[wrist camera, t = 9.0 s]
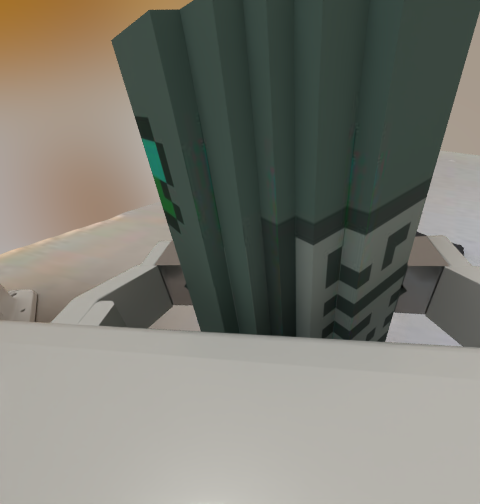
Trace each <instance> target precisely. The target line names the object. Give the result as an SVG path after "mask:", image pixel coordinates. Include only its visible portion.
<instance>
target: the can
mask: <svg viewBox="0 0 480 504" xmlns="http://www.w3.org/2000/svg"><path fill="white" fill-rule="evenodd" d="M479 12H480V0H194V1H192V2H190V3H189V4H187V5H186V6H184V7H183V8H181V9H180V10H148V11H147V12H146V13H145V14H144V15H142V16H141V17H140V18H139V19H137V20H136V21H135V22H134V23H132V24H131V25H130V26H129V27H127V28H126V29H125V30H124V31H122V32H121V33H120V34H119V35H117V36H116V37H115V38H114V39H113V40H111V41H112V45H113V47H114V51H115V54H116V57H117V61H118V64H119V67H120V70H121V74H122V77H123V80H124V83H125V87H126V90H127V93H128V96H129V99H130V102H131V106H132V109H133V113H134V116H135V119H136V122H137V125H138V129H139V132H140V135H141V138H142V142H143V145H144V148H145V151H146V155H147V158H148V161H149V164H150V168H151V171H152V174H153V177H154V181H155V184H156V187H157V190H158V193H159V197H160V200H161V203H162V206H163V210H164V213H165V216H166V219H167V223H168V226H169V229H170V232H171V236H172V239H173V242H174V245H175V249H176V252H177V255H178V258H179V262H180V265H181V268H182V271H183V274H184V278H185V281H186V284H187V287H188V291H189V294H190V297H191V300H192V304H193V307H194V310H195V313H196V317H197V320H198V323H199V326H200V330H201V332H216V333H234V334H252V335H270V336H288V337H306V338H324V339H341V340H358V341H375V342H385V340H386V337H387V333H388V330H389V326H390V323H391V319H392V316H393V312H394V309H395V305H396V302H397V298H398V295H399V291H400V288H401V284H402V281H403V277H404V274H405V270H406V267H407V263H408V260H409V256H410V253H411V249H412V246H413V242H414V239H415V235H416V232H417V228H418V225H419V221H420V218H421V214H422V211H423V207H424V204H425V200H426V197H427V193H428V190H429V186H430V183H431V179H432V176H433V172H434V169H435V165H436V162H437V158H438V155H439V152H440V147H441V144H442V141H443V137H444V134H445V131H446V127H447V124H448V120H449V117H450V113H451V110H452V106H453V102H454V99H455V96H456V92H457V89H458V85H459V82H460V78H461V75H462V71H463V68H464V64H465V61H466V57H467V53H468V50H469V46H470V43H471V40H472V36H473V33H474V29H475V26H476V22H477V19H478V15H479Z"/></svg>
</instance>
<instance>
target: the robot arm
mask: <svg viewBox="0 0 480 504" xmlns="http://www.w3.org/2000/svg"><path fill="white" fill-rule="evenodd" d="M36 303H37V294H36V293H35V292H34V291H33V290H28V289H22V290H13V291H6V289H5V288H4V287H3V286H2V285H1V284H0V504H480V267H477V266H472V265H471V264H470V263H469V262H468V261H467V259H466V258H465V257H464V256H463V255H462V254H461V253H460V252H459V251H458V249H457V248H456V247H455V246H454V245H453V244H452V243H451V242H450V241H449V239H448V238H447V237H445V236H443V235H439V236H420V237H415V239H414V242H413V246H412V249H411V253H410V256H409V260H408V263H407V267H406V270H405V274H404V277H403V281H402V284H401V288H400V291H399V295H398V298H397V302H396V305H395V309H394V312H395V313H411V314H426V315H425V316H427V317H428V318H429V319H430V320H431V321H433V322H434V323H435V324H436V325H437V326H439V327H440V328H441V329H442V330H444V331H445V332H446V333H447V334H448V335H450V336H451V337H452V338H453V339H454V340H456V341H457V342H458V343H459V344H461V345H462V346H463V347H461V346H443V345H426V344H409V343H392V342H375V341H358V340H341V339H324V338H306V337H288V336H270V335H252V334H234V333H216V332H199V331H181V330H164V329H147V328H148V327H150V326H151V325H152V324H153V323H154V322H155V321H156V320H158V319H159V318H160V317H161V316H162V315H163V314H164V313H166V312H167V311H168V310H169V309H170V308H171V307H172V305H193V304H192V300H191V297H190V294H189V291H188V287H187V284H186V281H185V278H184V274H183V271H182V268H181V265H180V262H179V258H178V255H177V252H176V249H175V245H174V242H173V241H172V240H170V241H159V242H158V243H157V244H156V245H155V247H154V248H153V249H152V251H151V252H150V253H149V254H148V256H147V257H146V258H145V260H144V261H143V262H142V263H141V265H139V266H134V267H132V268H130V269H128V270H127V271H125V272H123V273H121V274H119V275H117V276H115V277H113V278H111V279H110V280H108V281H106V282H104V283H102V284H100V285H98V286H96V287H94V288H92V289H91V290H89V291H87V292H85V293H83V294H81V295H79V296H77V297H75V298H74V299H72V301H71V302H70V303H69V304H68V305H67V306H66V307H65V308H64V309H63V310H62V311H61V312H60V313H59V314H58V315H57V316H56V317H55V318H54V320H53V321H52V322H51V323H43V322H35V313H36Z"/></svg>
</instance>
